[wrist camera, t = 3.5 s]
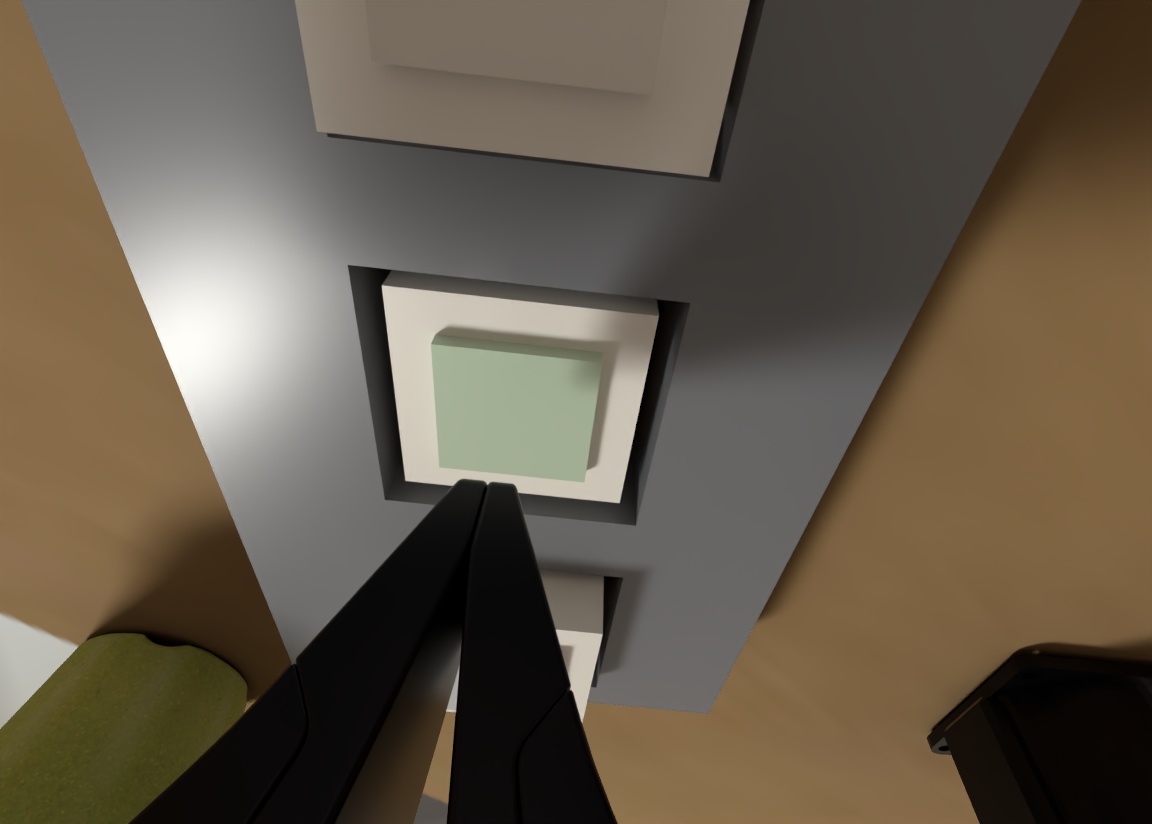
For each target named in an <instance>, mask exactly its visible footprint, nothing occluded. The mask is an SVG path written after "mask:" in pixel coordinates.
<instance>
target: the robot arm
mask: <svg viewBox="0 0 1152 824" xmlns="http://www.w3.org/2000/svg"><path fill="white" fill-rule="evenodd" d="M295 662H296V664H294V663H292V664H290V665H289V666H288V667H287V668H286V669H285V670H284V671H283V672H282V673H281V675H280V676H279V677H278V678H277V679H276V680H275V681H274V682H273V683H272V684H271V686H270V687H269V688H268V689H267V690H266V691H265V692H264V693H263V694H262V695H261V696H260V697H259V698H258V699H257V700H256V701H255V702H254V704H253V705H252V706H251V707H250V708H249V709H248V710H247V711H246V712H245V713H244V714H243V715H242V716H241V717H240V718H239V719H238V720H237V721H236V722H235V723H234V724H233V725H232V726H231V728H229V729H228V730H227V731H226V732H225V733H224V734H223V735H222V736H221V737H220V738H219V739H218V740H217V741H216V742H215V743H214V744H213V745H212V746H211V747H209V748H208V749H207V750H206V751H205V752H204V753H203V754H202V755H201V756H200V757H199V758H198V759H197V760H196V761H195V762H194V763H193V764H192V765H191V766H190V767H188V768H187V769H186V770H185V771H184V772H183V773H182V774H181V775H180V776H179V777H178V778H177V779H175V780H174V781H173V782H172V783H171V784H170V785H169V786H168V787H167V788H166V789H165V790H163V791H162V792H161V793H160V794H159V795H158V796H157V797H156V798H155V799H154V800H153V801H152V802H150V803H149V804H148V805H147V806H146V807H145V808H144V809H143V810H142V811H141V812H140V813H138V814H137V815H136V816H135V817H134V818H133V819H132V820H131V821H130V822H129V823H128V824H413V823H414V819H415V816H416V813H417V809H418V806H419V802H420V799H421V796H422V792H423V789H424V785H425V782H426V778H427V775H428V772H429V768H430V765H431V761H432V758H433V754H434V751H435V748H436V744H437V741H438V737H439V734H440V730H441V727H442V724H443V720H444V717H445V713H446V710H447V706H448V703H449V700H450V696H451V693H452V689H453V686H454V682H455V679H456V676H457V672H458V669H459V680H458V692H457V704H456V716H455V728H454V741H453V753H452V765H451V777H450V790H449V802H448V815H447V824H618V823H617V821H616V818H615V816H614V814H613V811H612V809H611V806H610V803H609V801H608V798H607V795H606V793H605V790H604V787H603V785H602V782H601V779H600V777H599V774H598V771H597V769H596V766H595V763H594V760H593V757H592V754H591V751H590V747H589V744H588V741H587V738H586V735H585V731H584V728H583V725H582V722H581V718H580V715H579V711H578V708H577V704H576V700H575V697H574V693H573V691H572V690H570V689H571V683H570V680H569V676H568V672H567V669H566V665H565V661H564V658H563V654H562V650H561V647H560V643H559V640H558V636H557V632H556V629H555V625H554V621H553V618H552V614H551V610H550V607H549V603H548V600H547V596H546V592H545V589H544V585H543V581H542V578H541V574H540V570H539V567H538V563H537V559H536V556H535V552H534V549H533V545H532V541H531V538H530V534H529V530H528V527H527V523H526V519H525V516H524V512H523V509H522V505H521V501H520V498H519V494H518V490H517V487H516V486H515V485H514V484H512V483H502V482H490V483H489V484H488V485H487V483H486V482H485V481H483V480H473V479H460V480H458V481H457V482H456V483H455V484H454V485H453V486H452V487H451V489H450V490H449V491H448V492H447V493H446V494H445V495H444V496H443V497H442V498H441V499H440V501H439V502H438V503H437V504H436V505H435V506H434V507H433V508H432V509H431V510H430V512H429V513H428V514H427V515H426V516H425V517H424V518H423V519H422V520H421V521H420V523H419V524H418V525H417V526H416V527H415V528H414V529H413V530H412V531H411V532H410V533H409V535H408V536H407V537H406V538H405V539H404V540H403V541H402V542H401V543H400V544H399V546H398V547H397V548H396V549H395V550H394V551H393V552H392V553H391V554H390V555H389V557H388V558H387V559H386V560H385V561H384V562H383V563H382V564H381V565H380V566H379V567H378V569H377V570H376V571H375V572H374V573H373V574H372V575H371V576H370V577H369V578H368V580H367V581H366V582H365V583H364V584H363V585H362V586H361V587H360V588H359V589H358V590H357V592H356V593H355V594H354V595H353V596H352V597H351V598H350V599H349V600H348V601H347V603H346V604H345V605H344V606H343V607H342V608H341V609H340V610H339V611H338V612H337V614H336V615H335V616H334V617H333V618H332V619H331V620H330V621H329V622H328V623H327V624H326V626H325V627H324V628H323V629H322V630H321V631H320V632H319V633H318V634H317V635H316V637H315V638H314V639H313V640H312V641H311V642H310V643H309V644H308V645H307V646H306V648H305V649H304V650H303V651H302V652H301V653H300V654H299V655H298V656H297V657H296V660H295ZM459 665H460V667H459ZM927 740H928V743H929V745H930V748H931V750H932V752H934V753H937V754H946V755H952V757H953V760H954V762H955V765H956V767H957V769H958V772H959V774H960V777H961V779H962V782H963V784H964V786H965V789H966V791H967V794H968V796H969V799H970V801H971V803H972V806H973V808H974V811H975V813H976V816H977V818H978V820H979V823H980V824H1152V667H1151V666H1141V665H1131V664H1121V663H1111V662H1101V661H1091V660H1081V659H1071V658H1061V657H1051V656H1041V655H1024V656H1020V657H1017V658H1014V659H1013V660H1011V661H1010V662H1008V663H1007V664H1006V665H1005V666H1004V667H1003V668H1002V669H1001V670H1000V671H999V672H998V673H996V674H995V675H994V676H993V677H992V678H991V679H990V680H989V681H988V682H987V683H985V684H984V685H983V686H982V687H981V688H980V689H979V690H978V691H977V692H976V693H974V694H973V695H972V696H971V697H970V698H969V699H968V700H967V701H966V702H965V703H963V704H962V705H961V706H960V707H959V708H958V709H957V710H956V711H955V712H954V713H952V714H951V715H950V716H949V717H948V718H947V719H946V720H945V721H944V722H943V723H941V724H940V725H939V726H938V727H937V728H936V729H935V730H934V731H933V732H932V733H931V734H929V735H928V737H927Z"/></svg>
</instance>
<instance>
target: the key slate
mask: <svg viewBox="0 0 1152 824" xmlns="http://www.w3.org/2000/svg"><path fill="white" fill-rule="evenodd" d="M539 570H540V574H541V578H542V581H543V585H544V589H545V592H546V596H547V600H548V603H549V607H550V610H551V614H552V618H553V621H554V625H555V629H556V632H557V636H558V640H559V643H560V647H561V650H562V654H563V658H564V661H565V665H566V669H567V672H568V676H569V680H570V683H571V689H570V690H572V691H573V693H574V697H575V700H576V704H577V708H578V711H579V715H580V718H581V722H582V721H583V717H584V713H585V709H586V704H587V700H588V696H589V691H590V687H591V683H592V678H593V674H594V670H595V665H596V661H597V657H598V653H599V648H600V644H601V640H602V635H603V591H604V576H602V575H592V574H582V573H572V572H563V571H553V570H543V569H539ZM459 667H460V665H459ZM458 680H459V669H458V672H457V676H456V679H455V682H454V686H453V689H452V693H451V696H450V700H449V703H448V706H447V710H446V711H448V712H456V704H457V692H458Z"/></svg>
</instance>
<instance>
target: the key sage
mask: <svg viewBox="0 0 1152 824" xmlns="http://www.w3.org/2000/svg"><path fill="white" fill-rule="evenodd" d="M382 292H383V301H384V309H385V317H386V325H387V333H388V342H389V350H390V358H391V366H392V374H393V382H394V391H395V399H396V407H397V415H398V423H399V432H400V440H401V448H402V456H403V464H404V473H405V481H411V482H420V483H430V484H440V485H449V486H453V485H454V484H455V483H456V482H457V481H458V480H460V479H473V480H483V481H485V482H486V483H487V485H488V484H489V483H490V482H502V483H512V484H514V485H515V486H516V487H517V490H518V493H526V494H536V495H545V496H555V497H565V498H574V499H584V500H594V501H603V502H613V503H620V499H621V494H622V489H623V485H624V480H625V475H626V470H627V466H628V461H629V456H630V451H631V447H632V442H633V437H634V432H635V428H636V423H637V418H638V413H639V409H640V404H641V399H642V394H643V390H644V385H645V380H646V375H647V371H648V366H649V361H650V356H651V352H652V347H653V342H654V337H655V333H656V328H657V323H658V318H659V312H658V304H657V299H650V298H641V297H632V296H623V295H615V294H606V293H597V292H588V291H579V290H570V289H561V288H552V287H543V286H534V285H525V284H516V283H507V282H498V281H489V280H480V279H471V278H462V277H453V276H444V275H435V274H426V273H417V272H408V271H399V270H392V271H391V272H390V274H389V275H388V277H387V278H386V280H385V281H384V283H383V284H382Z"/></svg>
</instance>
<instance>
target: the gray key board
mask: <svg viewBox="0 0 1152 824" xmlns="http://www.w3.org/2000/svg"><path fill="white" fill-rule="evenodd" d="M21 1H22V3H23V6H24V8H25V11H26V13H27V16H28V18H29V21H30V23H31V25H32V28H33V30H34V33H35V35H36V38H37V40H38V43H39V45H40V47H41V50H42V52H43V55H44V57H45V60H46V62H47V65H48V67H49V70H50V72H51V74H52V77H53V79H54V82H55V84H56V87H57V89H58V92H59V94H60V96H61V99H62V101H63V104H64V106H65V109H66V111H67V114H68V116H69V119H70V121H71V123H72V126H73V128H74V131H75V133H76V136H77V138H78V141H79V143H80V145H81V148H82V150H83V153H84V155H85V158H86V160H87V163H88V165H89V168H90V170H91V172H92V175H93V177H94V180H95V182H96V185H97V187H98V190H99V192H100V194H101V197H102V199H103V202H104V204H105V207H106V209H107V212H108V214H109V217H110V219H111V221H112V224H113V226H114V229H115V231H116V234H117V236H118V239H119V241H120V243H121V246H122V248H123V251H124V253H125V256H126V258H127V261H128V263H129V266H130V268H131V270H132V273H133V275H134V278H135V280H136V283H137V285H138V288H139V290H140V292H141V295H142V297H143V300H144V302H145V305H146V307H147V310H148V312H149V315H150V317H151V319H152V322H153V324H154V327H155V329H156V332H157V334H158V337H159V339H160V342H161V344H162V346H163V349H164V351H165V354H166V356H167V359H168V361H169V364H170V366H171V368H172V371H173V373H174V376H175V378H176V381H177V383H178V386H179V388H180V391H181V393H182V395H183V398H184V400H185V403H186V405H187V408H188V410H189V413H190V415H191V417H192V420H193V422H194V425H195V427H196V430H197V432H198V435H199V437H200V440H201V442H202V444H203V447H204V449H205V452H206V454H207V457H208V459H209V462H210V464H211V466H212V469H213V471H214V474H215V476H216V479H217V481H218V484H219V486H220V489H221V491H222V493H223V496H224V498H225V501H226V503H227V506H228V508H229V511H230V513H231V515H232V518H233V520H234V523H235V525H236V528H237V530H238V533H239V535H240V538H241V540H242V542H243V545H244V547H245V550H246V552H247V555H248V557H249V560H250V562H251V564H252V567H253V569H254V572H255V574H256V577H257V579H258V582H259V584H260V587H261V589H262V591H263V594H264V596H265V599H266V601H267V604H268V606H269V609H270V611H271V613H272V616H273V618H274V621H275V623H276V626H277V628H278V631H279V633H280V636H281V638H282V640H283V643H284V645H285V648H286V650H287V653H288V655H289V658H290V660H291V662H292V663H294V664H296V662H295V660H296V657H297V656H298V655H299V654H300V653H301V652H302V651H303V650H304V649H305V648H306V646H307V645H308V644H309V643H310V642H311V641H312V640H313V639H314V638H315V637H316V635H317V634H318V633H319V632H320V631H321V630H322V629H323V628H324V627H325V626H326V624H327V623H328V622H329V621H330V620H331V619H332V618H333V617H334V616H335V615H336V614H337V612H338V611H339V610H340V609H341V608H342V607H343V606H344V605H345V604H346V603H347V601H348V600H349V599H350V598H351V597H352V596H353V595H354V594H355V593H356V592H357V590H358V589H359V588H360V587H361V586H362V585H363V584H364V583H365V582H366V581H367V580H368V578H369V577H370V576H371V575H372V574H373V573H374V572H375V571H376V570H377V569H378V567H379V566H380V565H381V564H382V563H383V562H384V561H385V560H386V559H387V558H388V557H389V555H390V554H391V553H392V552H393V551H394V550H395V549H396V548H397V547H398V546H399V544H400V543H401V542H402V541H403V540H404V539H405V538H406V537H407V536H408V535H409V533H410V532H411V531H412V530H413V529H414V528H415V527H416V526H417V525H418V524H419V523H420V521H421V520H422V519H423V518H424V517H425V516H426V515H427V514H428V513H429V512H430V510H431V509H432V508H433V507H434V506H435V505H436V504H437V503H438V502H439V501H440V499H441V498H442V497H443V496H444V495H445V494H446V493H447V492H448V491H449V490H450V489H451V487H452V486H449V485H440V484H430V483H420V482H411V481H405V473H404V464H403V456H402V448H401V440H400V432H399V423H398V415H397V407H396V399H395V391H394V382H393V374H392V366H391V358H390V350H389V342H388V333H387V325H386V317H385V309H384V301H383V292H382V284H383V283H384V281H385V280H386V278H387V277H388V275H389V274H390V272H391V271H392V270H399V271H408V272H417V273H426V274H435V275H444V276H453V277H462V278H471V279H480V280H489V281H498V282H507V283H516V284H525V285H534V286H543V287H552V288H561V289H570V290H579V291H588V292H597V293H606V294H615V295H623V296H632V297H641V298H650V299H659V300H665V301H664V306H663V311H662V315H661V320H660V325H659V329H658V334H657V339H656V343H655V348H654V353H653V357H652V362H651V367H650V371H649V376H648V381H647V385H646V390H645V395H644V400H643V404H642V409H641V414H640V418H639V423H638V428H637V432H636V437H635V442H634V446H633V448H631V451H630V456H629V461H628V466H627V470H626V475H625V480H624V485H623V489H622V494H621V499H620V503H613V502H603V501H594V500H584V499H574V498H565V497H555V496H545V495H536V494H526V493H518V494H519V498H520V501H521V505H522V509H523V512H524V516H525V519H526V523H527V527H528V530H529V534H530V538H531V541H532V545H533V549H534V552H535V556H536V559H537V563H538V567H539V569H543V570H553V571H563V572H572V573H582V574H592V575H602V576H606V578H605V582H604V591H603V635H602V640H601V644H600V648H599V653H598V657H597V661H596V665H595V670H594V674H593V678H592V683H591V687H590V691H589V696H588V700H587V702H592V703H603V704H613V705H623V706H634V707H644V708H654V709H665V710H675V711H685V712H696V713H706V714H708V713H709V711H710V709H711V707H712V706H713V704H714V702H715V700H716V698H717V696H718V694H719V692H720V690H721V688H722V686H723V685H724V683H725V681H726V679H727V677H728V675H729V673H730V671H731V669H732V667H733V665H734V664H735V662H736V660H737V658H738V656H739V654H740V652H741V650H742V648H743V646H744V644H745V643H746V641H747V639H748V637H749V635H750V633H751V631H752V629H753V627H754V625H755V623H756V622H757V620H758V618H759V616H760V614H761V612H762V610H763V608H764V606H765V604H766V602H767V601H768V599H769V597H770V595H771V593H772V591H773V589H774V587H775V585H776V583H777V581H778V580H779V578H780V576H781V574H782V572H783V570H784V568H785V566H786V564H787V562H788V560H789V559H790V557H791V555H792V553H793V551H794V549H795V547H796V545H797V543H798V541H799V539H800V538H801V536H802V534H803V532H804V530H805V528H806V526H807V524H808V522H809V520H810V518H811V517H812V515H813V513H814V511H815V509H816V507H817V505H818V503H819V501H820V499H821V497H822V496H823V494H824V492H825V490H826V488H827V486H828V484H829V482H830V480H831V478H832V476H833V475H834V473H835V471H836V469H837V467H838V465H839V463H840V461H841V459H842V457H843V455H844V454H845V452H846V450H847V448H848V446H849V444H850V442H851V440H852V438H853V436H854V434H855V433H856V431H857V429H858V427H859V425H860V423H861V421H862V419H863V417H864V415H865V413H866V412H867V410H868V408H869V406H870V404H871V402H872V400H873V398H874V396H875V394H876V392H877V391H878V389H879V387H880V385H881V383H882V381H883V379H884V377H885V375H886V373H887V371H888V370H889V368H890V366H891V364H892V362H893V360H894V358H895V356H896V354H897V352H898V350H899V349H900V347H901V345H902V343H903V341H904V339H905V337H906V335H907V333H908V331H909V329H910V328H911V326H912V324H913V322H914V320H915V318H916V316H917V314H918V312H919V310H920V308H921V307H922V305H923V303H924V301H925V299H926V297H927V295H928V293H929V291H930V289H931V288H932V286H933V284H934V282H935V280H936V278H937V276H938V274H939V272H940V270H941V268H942V267H943V265H944V263H945V261H946V259H947V257H948V255H949V253H950V251H951V249H952V247H953V246H954V244H955V242H956V240H957V238H958V236H959V234H960V232H961V230H962V228H963V226H964V225H965V223H966V221H967V219H968V217H969V215H970V213H971V211H972V209H973V207H974V205H975V204H976V202H977V200H978V198H979V196H980V194H981V192H982V190H983V188H984V186H985V184H986V183H987V181H988V179H989V177H990V175H991V173H992V171H993V169H994V167H995V165H996V163H997V162H998V160H999V158H1000V156H1001V154H1002V152H1003V150H1004V148H1005V146H1006V144H1007V142H1008V141H1009V139H1010V137H1011V135H1012V133H1013V131H1014V129H1015V127H1016V125H1017V123H1018V121H1019V120H1020V118H1021V116H1022V114H1023V112H1024V110H1025V108H1026V106H1027V104H1028V102H1029V100H1030V99H1031V97H1032V95H1033V93H1034V91H1035V89H1036V87H1037V85H1038V83H1039V81H1040V79H1041V78H1042V76H1043V74H1044V72H1045V70H1046V68H1047V66H1048V64H1049V62H1050V60H1051V58H1052V57H1053V55H1054V53H1055V51H1056V49H1057V47H1058V45H1059V43H1060V41H1061V39H1062V37H1063V36H1064V34H1065V32H1066V30H1067V28H1068V26H1069V24H1070V22H1071V20H1072V18H1073V16H1074V15H1075V13H1076V11H1077V9H1078V7H1079V5H1080V3H1081V1H1082V0H750V2H749V6H748V10H747V15H746V19H745V23H744V28H743V32H742V36H741V41H740V45H739V49H738V54H737V58H736V62H735V67H734V71H733V75H732V79H731V84H730V88H729V92H728V97H727V101H726V105H725V110H724V114H723V118H722V123H721V127H720V131H719V135H718V140H717V144H716V148H715V153H714V157H713V161H712V166H711V170H710V174H709V177H704V176H696V175H687V174H679V173H670V172H661V171H653V170H644V169H635V168H627V167H618V166H610V165H601V164H592V163H584V162H575V161H566V160H558V159H549V158H541V157H532V156H523V155H515V154H506V153H498V152H489V151H480V150H472V149H463V148H454V147H446V146H437V145H429V144H420V143H411V142H403V141H394V140H385V139H377V138H368V137H360V136H351V135H342V134H334V133H325V132H317V130H316V124H315V118H314V112H313V106H312V100H311V94H310V88H309V82H308V76H307V70H306V64H305V58H304V52H303V47H302V41H301V35H300V29H299V23H298V17H297V11H296V5H295V0H21Z"/></svg>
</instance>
